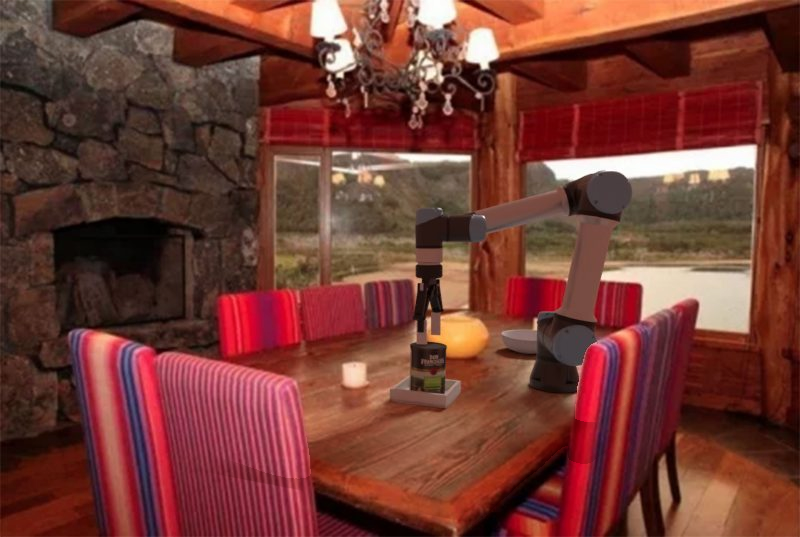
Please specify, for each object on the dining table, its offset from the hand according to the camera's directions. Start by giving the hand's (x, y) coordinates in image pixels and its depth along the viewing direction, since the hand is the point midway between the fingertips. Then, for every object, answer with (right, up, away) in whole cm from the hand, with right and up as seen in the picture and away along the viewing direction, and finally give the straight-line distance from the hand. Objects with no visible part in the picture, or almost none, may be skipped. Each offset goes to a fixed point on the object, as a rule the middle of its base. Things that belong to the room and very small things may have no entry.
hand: (429, 339), depth 163 cm
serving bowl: (+42, -13, +64) cm, 77 cm away
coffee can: (-1, -16, +1) cm, 16 cm away
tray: (-1, -16, +1) cm, 16 cm away
